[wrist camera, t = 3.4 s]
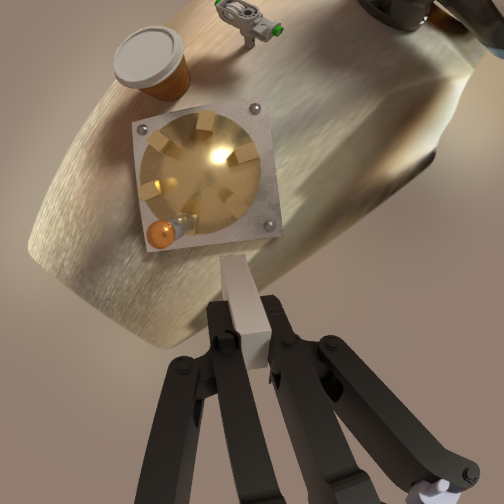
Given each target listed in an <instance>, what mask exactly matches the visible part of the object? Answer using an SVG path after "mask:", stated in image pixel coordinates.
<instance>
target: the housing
mask: <svg viewBox="0 0 504 504" xmlns="http://www.w3.org/2000/svg"><path fill="white" fill-rule="evenodd" d="M200 110H208V111H216V113H217V114H218V115H222V116H224V117H227V118H229V119H231V120H233V121H234V122H236V123H237V124H239V125H240V126H241V127H242V128H243V129H244V130H245V131H246V132H247V133H248V134H249V136H250V137H251V139H252V140H253V142H254V143H255V145H256V148H257V151H258V154H259V157H260V163H261V179H260V184H259V189H258V191H257V194H256V197H255V199H254V201H253V202H252V204H251V206H250V207H249V208H248V210H247V211H246V212H245V213H244V214H243V216H242V217H240V218H239V219H238V220H237V221H236V222H234V223H233V224H231V225H230V226H228V227H226V228H224V229H222V230H220V231H217V232H214V233H209V234H200V235H195V236H189V235H184V236H183V237H181V238H179V239H178V240H176V241H174V242H173V243H172V244H171V245H170V246H168V247H167V248H165V249H155V248H153V247H152V246H151V245H150V244H149V243H148V241H147V237H146V233H147V229H148V227H149V226H150V224H152V223H153V222H156V221H159V219H158V218H157V217H156V216H155V215H154V214H153V213H152V212H151V210H150V209H149V207H148V205H147V204H146V202H141V199H140V196H139V193H138V197H139V204H140V211H141V218H142V225H143V231H144V237H145V243H146V248H147V253H148V252H156V251H164V250H172V249H180V248H188V247H197V246H205V245H213V244H222V243H230V242H239V241H247V240H256V239H265V238H273V237H282V236H283V230H282V220H281V211H280V202H279V193H278V185H277V176H276V168H275V160H274V152H273V145H272V137H271V130H270V123H269V116H268V109H267V102H266V97H262V98H252V99H243V100H236V101H229V102H222V103H216V104H210V105H204V106H198V107H193V108H188V109H183V110H179V111H174V112H170V113H166V114H162V115H157V116H154V117H150V118H146V119H142V120H139V121H135V122H132V135H133V149H134V161H135V171H136V180H137V187H139V186H141V185H140V167H141V162H142V158H143V155H144V152H145V150H146V148H147V146H148V144H149V143H148V142H146V140H147V139H148V137H149V136H150V135H151V134H152V132H153V131H154V130H155V129H157V130H160V129H161V128H162V127H164V126H165V125H166V124H168V123H169V122H171V121H173V120H174V119H176V118H179V117H181V116H184V115H187V114H191V113H200Z"/></svg>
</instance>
